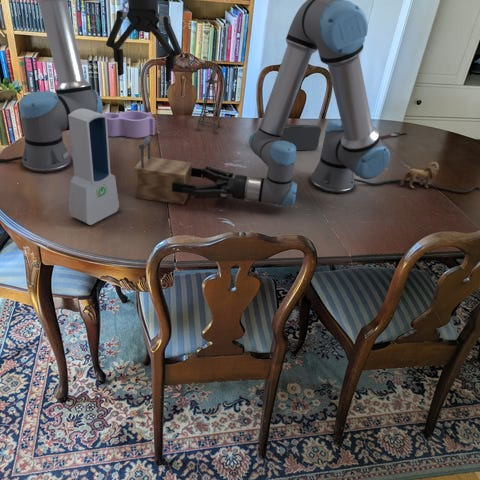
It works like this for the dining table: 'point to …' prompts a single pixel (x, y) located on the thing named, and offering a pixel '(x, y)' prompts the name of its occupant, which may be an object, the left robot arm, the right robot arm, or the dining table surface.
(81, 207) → the electronic device
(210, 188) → the right robot arm
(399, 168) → the dining table surface
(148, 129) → the purple wavy organizer
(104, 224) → the dining table surface
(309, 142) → the rounded dark grey slab
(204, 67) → the miniature windmill
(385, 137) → the sword
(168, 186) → the chest
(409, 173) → the lion figurine
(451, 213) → the dining table surface
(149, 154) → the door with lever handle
